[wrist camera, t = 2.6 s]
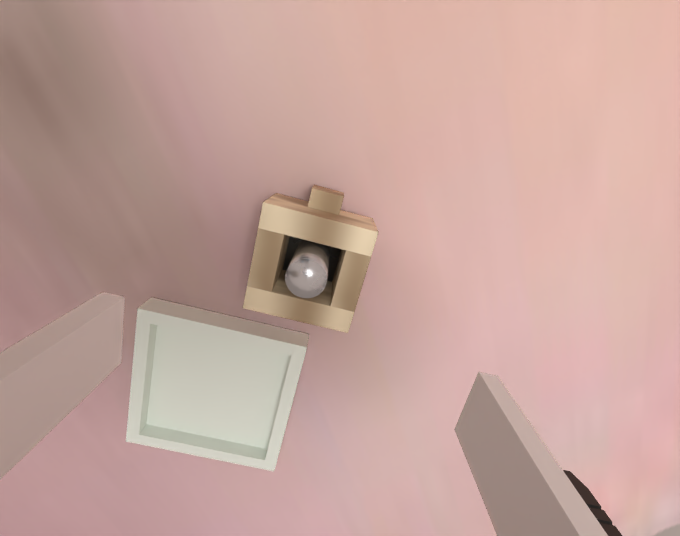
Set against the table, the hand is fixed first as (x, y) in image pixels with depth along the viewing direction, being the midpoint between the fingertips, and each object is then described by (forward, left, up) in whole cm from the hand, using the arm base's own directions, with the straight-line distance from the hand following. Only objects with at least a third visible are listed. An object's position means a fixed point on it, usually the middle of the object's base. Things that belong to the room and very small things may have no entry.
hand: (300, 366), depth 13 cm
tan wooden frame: (-1, -1, -18) cm, 18 cm away
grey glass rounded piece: (-1, -1, -19) cm, 19 cm away
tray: (-7, -17, -19) cm, 26 cm away
